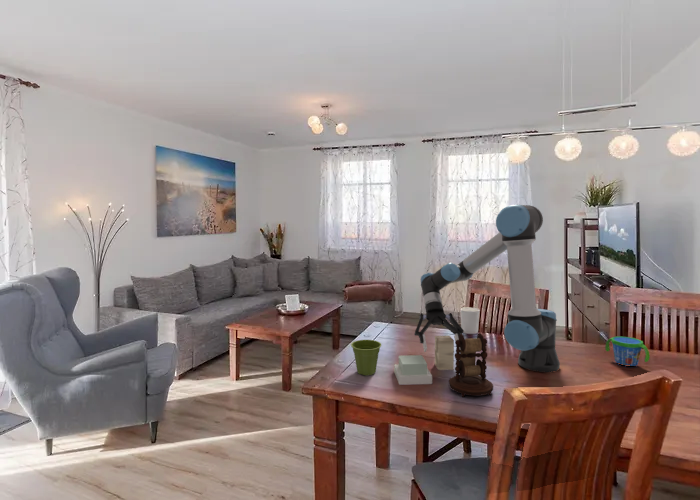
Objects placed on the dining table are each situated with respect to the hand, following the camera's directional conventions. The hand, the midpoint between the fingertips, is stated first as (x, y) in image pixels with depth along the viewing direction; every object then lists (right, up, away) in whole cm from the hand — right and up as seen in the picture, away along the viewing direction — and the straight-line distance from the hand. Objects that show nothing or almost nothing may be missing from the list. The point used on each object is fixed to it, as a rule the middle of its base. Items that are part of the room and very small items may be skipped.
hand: (442, 350), depth 159 cm
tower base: (-14, -8, -10) cm, 19 cm away
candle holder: (+26, -3, +49) cm, 55 cm away
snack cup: (+75, -6, +1) cm, 75 cm away
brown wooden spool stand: (+5, -9, -21) cm, 24 cm away
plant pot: (-31, -8, -5) cm, 32 cm away
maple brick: (+1, -7, 0) cm, 7 cm away
